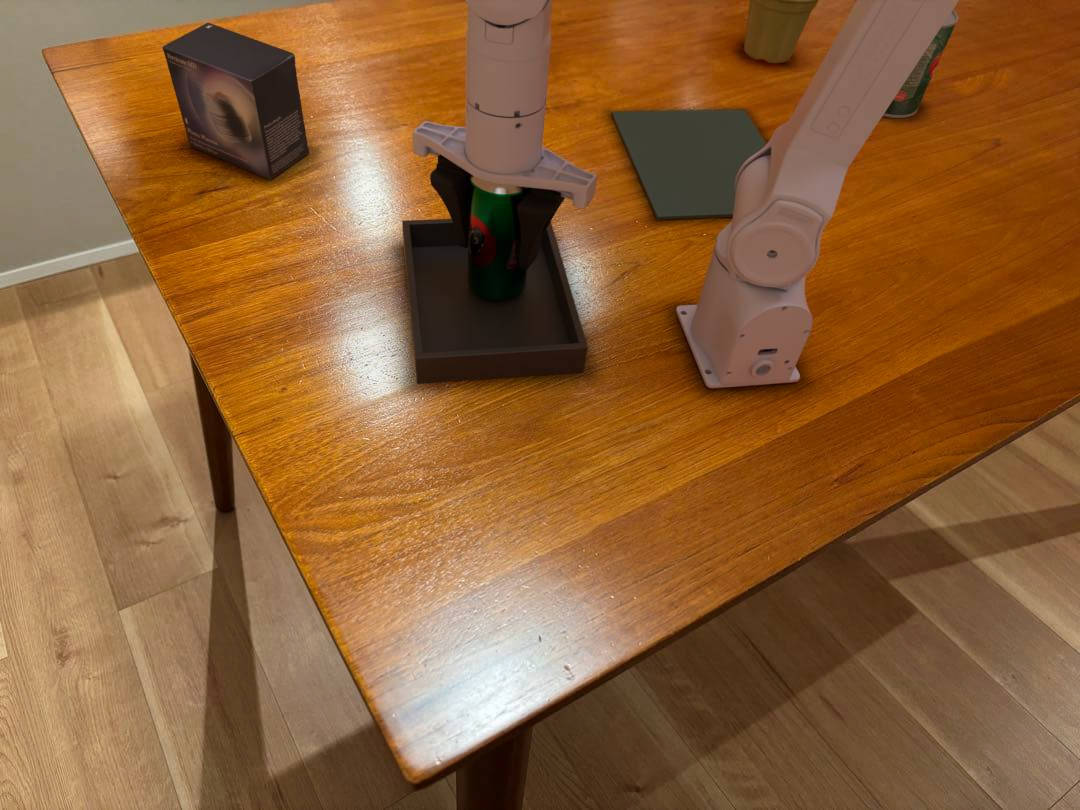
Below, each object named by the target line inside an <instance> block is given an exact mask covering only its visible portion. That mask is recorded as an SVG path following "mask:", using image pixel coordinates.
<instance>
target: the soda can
mask: <svg viewBox="0 0 1080 810" xmlns="http://www.w3.org/2000/svg"><path fill="white" fill-rule="evenodd" d="M530 191H531V188H529V187H520V186H511V185H502V184H495V183H490V182H486V181H483V180H481V179H478V178H476V177H475V176H473V175H471V174H470V173H469V195H468V273H467V282H468V285H469V288H470V289H471V290H472V291H473V292H474V293H475V294H476V295H477V296H479V297H480V298H482V299H484V300H487V301H491V302H505V301H509V300H511V299H513V298H515V297H517V296H518V295H519V294H520V293H522V292H523V290H524V289H525V286H526V279H527V269H523V268H521V267H520V266H519V253H520V244H521V229H520V221H519V216H518V212H517V206H518V204H519V203H520V202H521V201H522V200H523V198H524V197H525V196H526V195H527V194H528V193H529V192H530Z"/></svg>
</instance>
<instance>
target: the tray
mask: <svg viewBox="0 0 1080 810" xmlns="http://www.w3.org/2000/svg"><path fill="white" fill-rule="evenodd" d="M401 223H402V225H401V226H402V242H403V254H404V255H403V256H404V266H405V275H406V286H407V287H406V288H407V296H408V306H409V315H410V326H411V327H410V328H411V335H412V337H411V338H412V348H413V359H414V368H415V379H416V384H417V385H424V384H437V383H439V384H440V383H453V382H454V383H455V382H466V381H467V382H468V381H482V380H494V379H495V380H497V379H508V378H510V379H511V378H523V377H538V376H539V377H540V376H551V375H552V376H553V375H554V376H555V375H567V374H581V373H584V372H585V365H586V360H587V354H588V348H589V347H588V343H587V341H586V337H585V334H584V330H583V325H582V323H581V320H580V316H579V313H578V309H577V306H576V302H575V299H574V296H573V292H572V288H571V286H570V283H569V278H568V276H567V272H566V269H565V265H564V262H563V259H562V255H561V251H560V248H559V245H558V241H557V239H556V234H555V231H554V228H553V224H552V221H551V222H550V224H549V226H548V228H547V230H546V232H545V234H544V236H543V239H542V242H541V244H540V248H539V251H538V255H537V258H536V259H535V260H534V262H533V263H532V264H531V266H530V267H529V268H528V269H527V279H526V286H525V289H524V290H523V292H522V293H520V294H519V295H518V296H517V297H515V298H513V299H511V300H509V301H505V302H491V301H487V300H484V299H482V298H480V297H479V296H477V295H476V294H475V293H474V292H473V291H472V290H471V289H470V288H469V285H468V282H467V273H468V247H467V248H464V247H461V246H460V245H459V241H458V238H457V234H456V231H455V228H454V225H453V222H452V219H451V218H437V219H410V220H408V219H407V220H402V221H401Z"/></svg>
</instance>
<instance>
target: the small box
mask: <svg viewBox="0 0 1080 810" xmlns="http://www.w3.org/2000/svg"><path fill="white" fill-rule="evenodd" d="M161 48H162V51H163V54H164V57H165V61H166V65H167V69H168V73H169V75H170V79H171V82H172V87H173V90H174V93H175V96H176V100H177V104H178V107H179V111H180V115H181V119H182V123H183V126H184V130H185V134H186V137H187V141H188V144H189V147H191V148H192V149H196V150H198V151H200V152H203V153H206V154H208V155H211V156H213V157H215V158H217V159H219V160H222V161H224V162H227V163H229V164H231V165H233V166H236V167H239V168H241V169H244V170H246V171H247V172H250V173H252V174H255V175H258V176H259V177H262V178H264V179H267V180H268V181H271V180H273V179H275V178H276V177H277V176H279V175H280V174H282V173H283V172H284V171H287V169H289V168H290V167H292V166H293V165H295V164H296V163H298V162H299V161H301V159H304V158H305V157H306V156H307V155H309V154H310V148H309V144H308V143H309V142H308V138H307V132H306V125H305V119H304V113H303V106H302V101H301V94H300V93H301V92H300V88H299V82H298V75H297V72H298V71H297V66H296V56H295V53H294V52H292V51H289V50H286V49H283V48H280V47H277V46H275V45H271V44H268V43H266V42H264V41H261V40H258V39H255V38H252V37H249V36H247V35H244V34H241V33H238V32H236V31H233V30H230V29H228V28H225V27H222V26H220V25H217V24H214V23H211V22H206V23H204V24H202V25H200V26H199V27H197V28H194V29H193V30H191V31H189V32H187V33H185V34H183V35H181V36H179V37H177V38H176V39H173V40H172V41H170V42H168V43H166V44H164V45H162V46H161Z"/></svg>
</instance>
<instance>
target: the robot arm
mask: <svg viewBox="0 0 1080 810" xmlns="http://www.w3.org/2000/svg"><path fill="white" fill-rule="evenodd" d="M553 1H554V0H464V2H465V3H466V4H467V28H466V32H465V126H456V125H448V124H447V125H446V124H440V123H435V122H431V121H428V120H424V121H423V122H422V123H421V124H420V125H418V126H417V127H416V128H415V129H414V130H413V131H412V152H413V155H416V156H419V157H422V158H426V157H428V156H429V155H432V156H434V157H437V163H436V168H435V169H433V170H432V171H431V173H430V176H429V180H430V186H431V187H432V188H433V190H435V192H436V193H437V194H438V196H439V197H440V199H441V201H442V202H443V204H444V206H445V208H446V210H447V211H448V214H449V217H450V219H452V222H453V225H454V228H455V231H456V234H457V238H458V241H459V245H460V246H461V247H464V248H467V247H468V195H469V173H470V174H471V175H473V176H475V177H476V178H478V179H481V180H483V181H486V182H490V183H495V184H502V185H511V186H520V187H529V188H531V191H530V192H529V193H528V194H527V195H526V196H525V197H524V198H523V200H522V201H521V202H520V203H519V204H518V206H517V212H518V216H519V221H520V229H521V244H520V253H519V266H520V267H521V268H523V269H528V268H529V267H530V266H531V264H532V263H533V262H534V260H535V259H536V258H537V255H538V251H539V248H540V244H541V242H542V239H543V236H544V234H545V232H546V230H547V228H548V226H549V224H550V222H551V223H552V220H553V218H554V216H555V215H556V213H557V212H558V210H559V208H560V207H561V205H562V203H563V202H564V201H565V200H566V199H567V200H570V201H572V203H571V205H572V206H573V207H575V208H578V209H581V210H586V209H587V207H589V205H590V203H591V202H592V200H594V198H595V195H596V188H597V187H596V186H597V181H598V175H597V173H593V172H590V171H587V170H585V169H583V168H581V167H579V166H577V165H576V164H573V163H572V162H570V161H569V160H567V159H565V158H563V157H562V156H560V155H558V154H557V153H555V152H553V151H551V150H550V149H548V148H546V147H545V146H543V143H544V130H545V120H546V108H547V95H548V85H549V72H550V60H551V49H552V31H551V25H552V14H553V13H552V12H553ZM959 1H960V0H856V1H855V3H854V5H853V7H852V9H851V10H850V12H849V13H848V16H847V17H846V19H845V21H844V22H843V25H842V26H841V28H840V30H839V32H838V33H837V35H836V37H835V39H834V40H833V42H832V44H831V45H830V47H829V50H828V51H827V53H826V54H825V56H824V58H823V59H822V62H821V63H820V64H819V67H818V68H817V71H816V72H815V74H814V76H813V78H812V79H811V81H810V83H809V84H808V86H807V88H806V90H805V91H804V93H803V95H802V97H801V99H800V101H799V102H798V104H797V106H796V107H795V109H794V111H793V113H792V115H791V117H790V118H789V119H788V120H787V121H786V122H784V123H782V124H781V125H779V126H777V127H776V129H775V130H774V132H773V134H772V135H771V138H770V139H769V141H768V142H766V145H765V147H763V148H762V149H761V150H760V151H759V152H757V153H756V154H754V155H753V156H751V157H750V158H749V159H747V160H746V161H745V162H744V164H743V165H742V166H741V167H740V169H739V171H738V173H737V176H736V179H735V186H734V190H735V203H734V211H733V217H732V220H731V221H729V223H728V224H727V225H726V226H725V227H724V228H722V230H721V231H719V233H718V234H717V236H716V239H715V243H714V246H713V250H712V253H711V257H710V260H709V263H708V267H707V270H706V274H705V276H704V277H705V278H704V280H703V284H702V287H701V291H700V294H699V297H698V301H697V304H684V305H683V304H682V305H678V306H676V307H675V314H676V316H677V319H678V321H679V324H680V326H681V328H682V331H683V333H684V336H685V338H686V341H687V343H688V346H689V348H690V350H691V353H692V355H693V358H694V361H695V363H696V365H697V367H698V370H699V373H700V375H701V378H702V380H703V382H704V385H705V386H706V387H707V388H708V389H722V388H735V387H748V386H763V385H774V384H789V383H797V382H799V380H800V378H801V374H800V372H799V371H798V368H797V367H796V365H797V363H798V361H799V359H800V356H801V355H802V352H803V351H804V348H805V345H806V344H807V341H808V338H809V337H810V334H811V332H812V329H813V323H814V321H813V316H812V313H811V310H810V308H809V306H808V303H807V302H808V301H807V298H806V278H807V276H808V274H809V273H811V271H812V270H813V269H814V267H815V266H816V264H817V263H818V260H819V257H820V252H821V238H822V235H823V233H824V230H825V228H826V226H827V225H828V223H829V222H830V220H831V219H832V217H833V215H834V212H835V210H836V207H837V204H838V201H839V197H840V194H841V191H842V188H843V184H844V181H845V178H846V176H847V172H848V170H849V167H850V166H851V165H852V163H853V161H854V160H855V158H856V157H857V155H859V153H860V150H861V149H862V148H863V146H864V144H865V143H866V141H868V139H869V137H870V136H871V134H872V133H873V131H874V129H876V127H877V125H878V124H879V122H880V120H881V119H882V118H883V117H884V116H883V114H884V113H885V111H886V110H887V108H888V107H889V105H890V104H891V102H892V101H893V99H894V98H895V96H896V95H897V93H898V92H899V90H900V89H901V87H902V86H903V84H904V83H905V81H906V80H907V78H908V77H909V75H910V74H911V72H912V71H913V69H914V68H915V66H916V65H917V63H918V62H919V60H920V59H921V57H922V56H923V54H924V52H925V51H926V49H927V48H928V46H929V45H930V43H931V42H932V40H933V39H934V37H935V36H936V34H937V33H938V31H939V30H940V28H941V27H942V25H943V24H944V22H945V21H946V19H947V18H948V16H949V15H950V13H951V12H952V10H954V9H955V7H956V6H957V4H958V3H959Z"/></svg>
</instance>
